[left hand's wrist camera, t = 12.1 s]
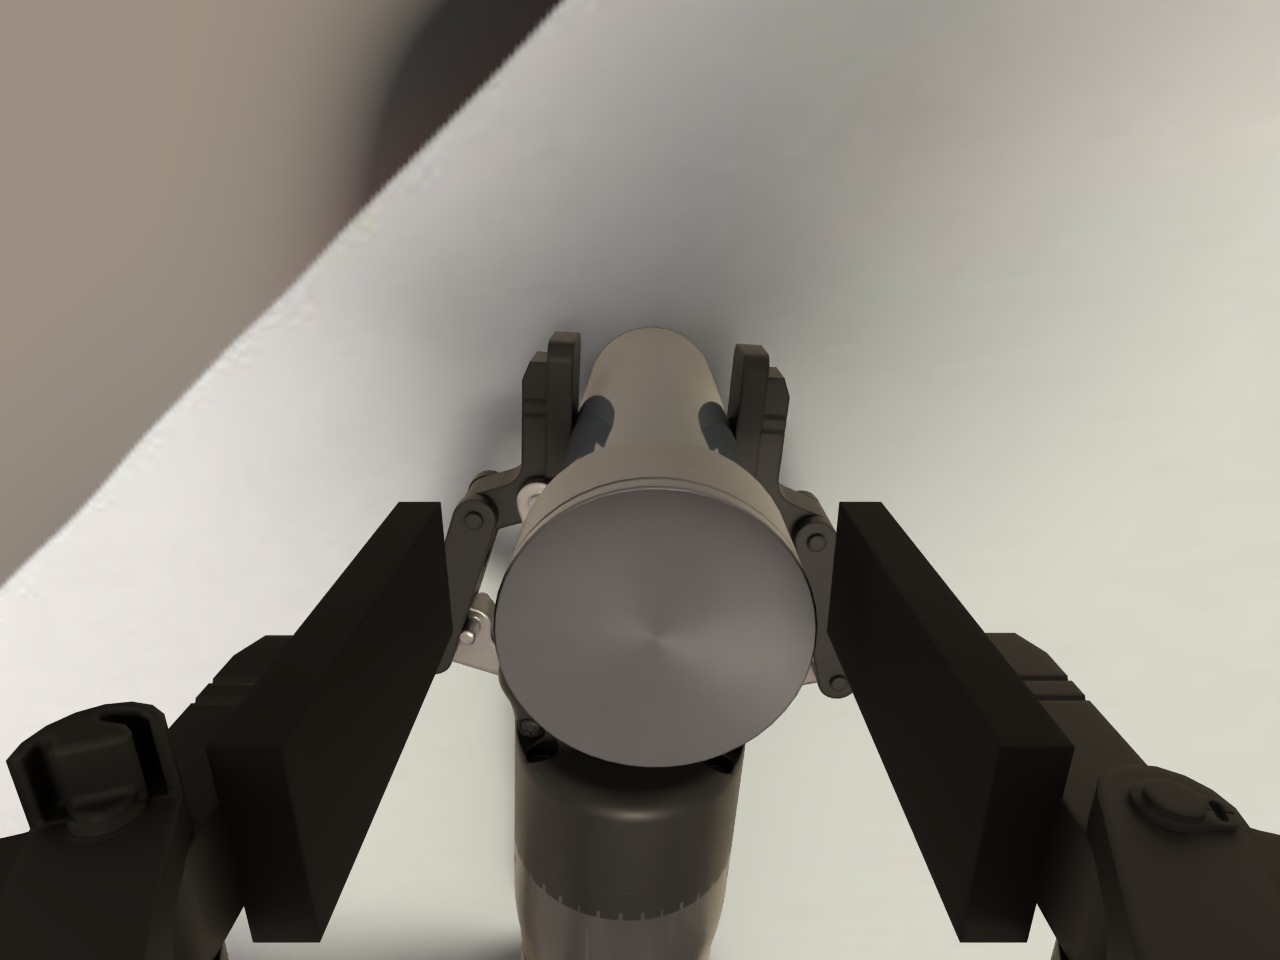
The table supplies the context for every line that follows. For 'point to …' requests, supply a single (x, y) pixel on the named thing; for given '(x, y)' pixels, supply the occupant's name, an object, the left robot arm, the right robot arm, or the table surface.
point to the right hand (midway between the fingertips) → (657, 345)
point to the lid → (655, 607)
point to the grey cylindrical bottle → (651, 397)
